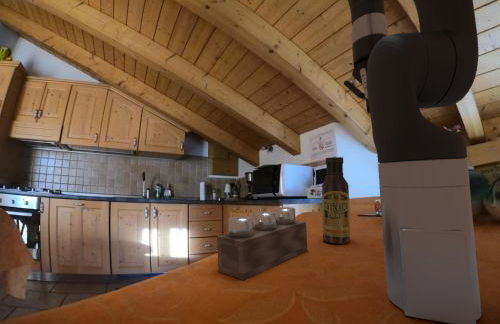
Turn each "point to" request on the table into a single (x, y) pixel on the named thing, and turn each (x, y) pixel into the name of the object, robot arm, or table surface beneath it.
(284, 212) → the knob right
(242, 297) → the table surface
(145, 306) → the table surface
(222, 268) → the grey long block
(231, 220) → the knob left
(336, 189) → the sauce bottle
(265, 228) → the knob middle
